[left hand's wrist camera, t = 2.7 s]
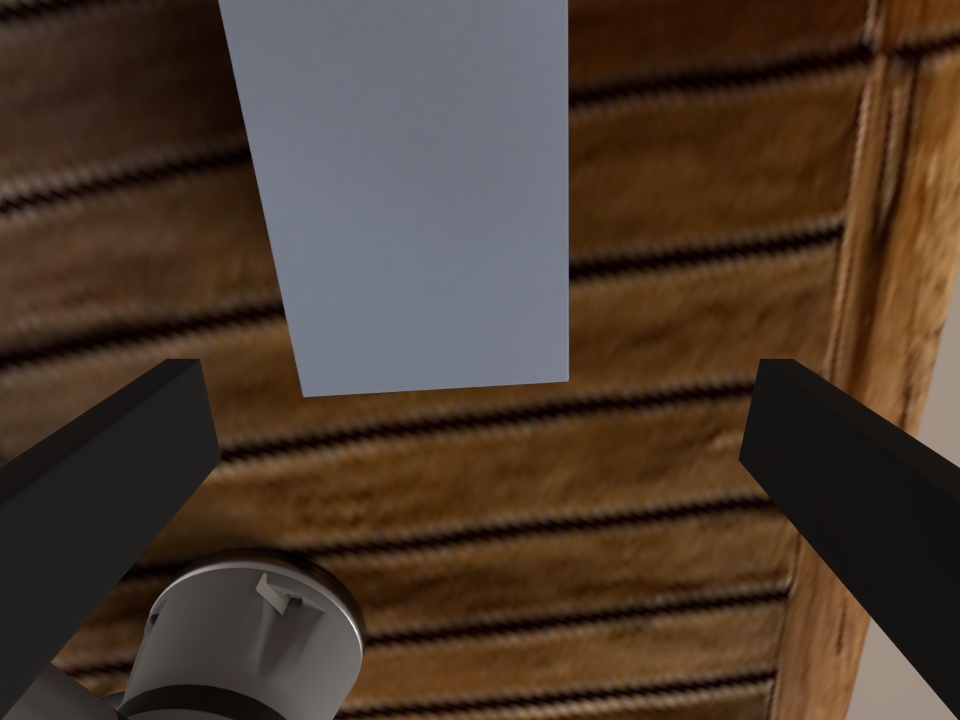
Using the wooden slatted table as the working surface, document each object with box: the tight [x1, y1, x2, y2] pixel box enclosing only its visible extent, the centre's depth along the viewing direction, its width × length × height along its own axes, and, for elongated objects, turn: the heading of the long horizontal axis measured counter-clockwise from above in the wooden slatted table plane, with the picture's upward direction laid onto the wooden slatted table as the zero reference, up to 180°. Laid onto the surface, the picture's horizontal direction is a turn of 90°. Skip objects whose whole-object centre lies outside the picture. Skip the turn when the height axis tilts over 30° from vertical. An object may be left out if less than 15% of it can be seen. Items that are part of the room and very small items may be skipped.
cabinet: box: [218, 0, 569, 397], centre depth 21 cm, size 19×10×10 cm, turn 4°
